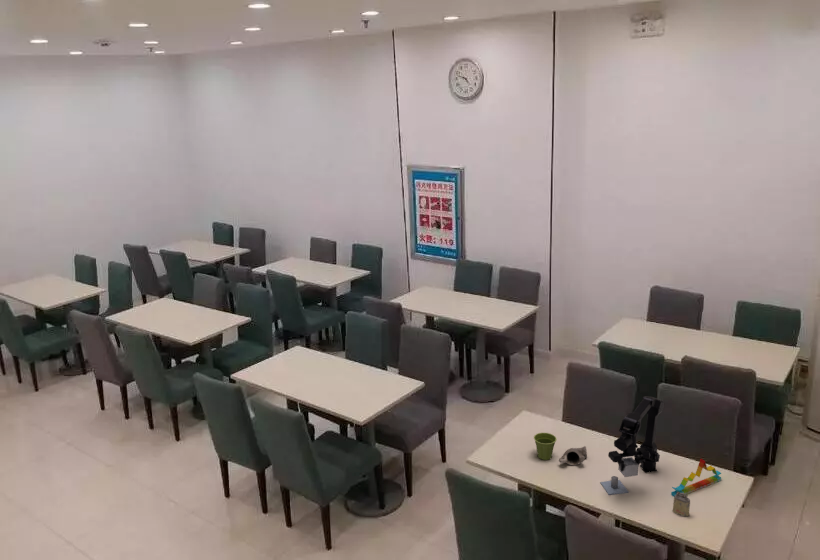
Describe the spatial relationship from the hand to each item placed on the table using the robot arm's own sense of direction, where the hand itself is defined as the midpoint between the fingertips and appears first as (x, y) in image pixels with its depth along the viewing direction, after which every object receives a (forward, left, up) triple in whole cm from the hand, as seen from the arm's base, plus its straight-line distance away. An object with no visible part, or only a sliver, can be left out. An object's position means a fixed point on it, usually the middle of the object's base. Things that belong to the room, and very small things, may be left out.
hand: (628, 470), depth 312 cm
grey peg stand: (+5, -4, -12) cm, 13 cm away
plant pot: (+29, -37, -12) cm, 48 cm away
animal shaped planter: (+15, -29, -12) cm, 35 cm away
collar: (0, 0, -1) cm, 1 cm away
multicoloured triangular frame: (-34, +4, -12) cm, 36 cm away
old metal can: (-17, +20, -12) cm, 29 cm away
